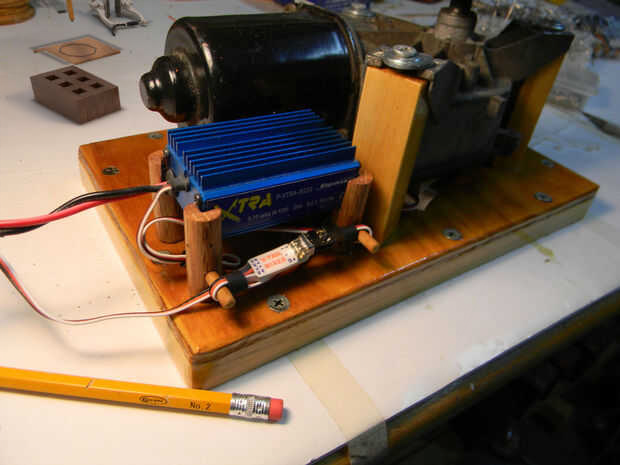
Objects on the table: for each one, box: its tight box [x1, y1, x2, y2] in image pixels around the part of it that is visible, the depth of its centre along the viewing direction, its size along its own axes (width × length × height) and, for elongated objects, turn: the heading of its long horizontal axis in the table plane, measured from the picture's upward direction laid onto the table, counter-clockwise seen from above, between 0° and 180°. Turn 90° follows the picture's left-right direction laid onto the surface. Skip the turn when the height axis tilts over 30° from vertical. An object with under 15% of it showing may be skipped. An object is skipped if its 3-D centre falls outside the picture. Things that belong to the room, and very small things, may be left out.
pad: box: [33, 36, 121, 66], centre depth 120 cm, size 16×12×1 cm
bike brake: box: [88, 0, 150, 37], centre depth 139 cm, size 14×7×20 cm
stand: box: [29, 64, 122, 125], centre depth 96 cm, size 10×14×6 cm
